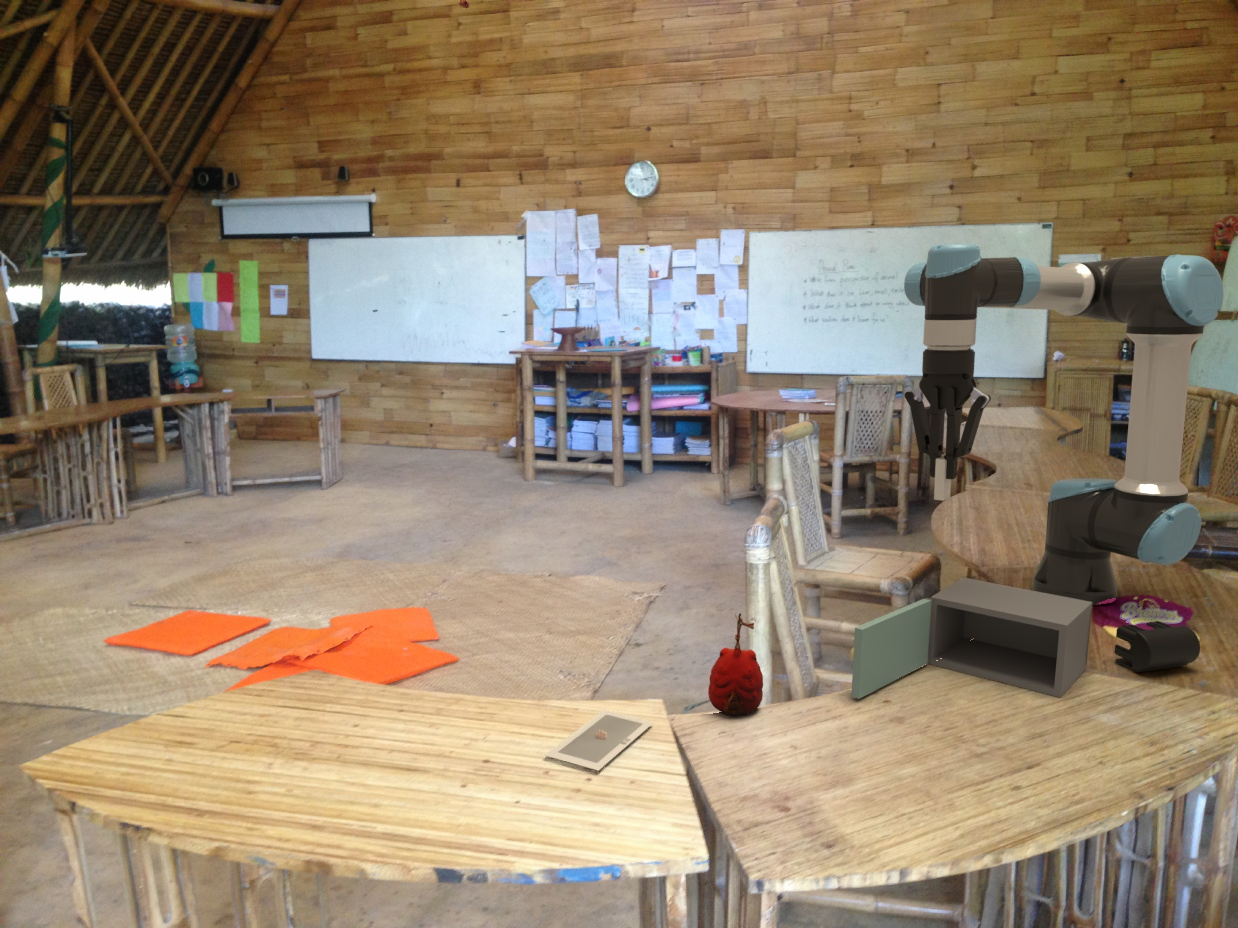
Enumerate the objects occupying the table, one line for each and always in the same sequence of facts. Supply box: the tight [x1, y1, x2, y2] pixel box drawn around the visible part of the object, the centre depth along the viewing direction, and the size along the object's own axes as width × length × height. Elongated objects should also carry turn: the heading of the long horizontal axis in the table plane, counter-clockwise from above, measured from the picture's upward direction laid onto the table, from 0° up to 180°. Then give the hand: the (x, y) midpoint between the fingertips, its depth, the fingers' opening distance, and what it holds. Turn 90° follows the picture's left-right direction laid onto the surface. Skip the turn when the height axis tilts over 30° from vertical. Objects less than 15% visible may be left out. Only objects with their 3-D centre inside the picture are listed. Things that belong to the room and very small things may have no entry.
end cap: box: [1114, 620, 1201, 673], centre depth 146 cm, size 10×7×7 cm
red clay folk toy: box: [707, 612, 764, 716], centre depth 130 cm, size 8×7×15 cm
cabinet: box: [926, 577, 1093, 699], centre depth 146 cm, size 14×20×11 cm
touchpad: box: [544, 709, 655, 772], centre depth 121 cm, size 8×15×2 cm, turn 151°
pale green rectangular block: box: [849, 597, 932, 700], centre depth 140 cm, size 3×20×10 cm, turn 133°
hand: (942, 498), depth 146 cm, fingers closed
